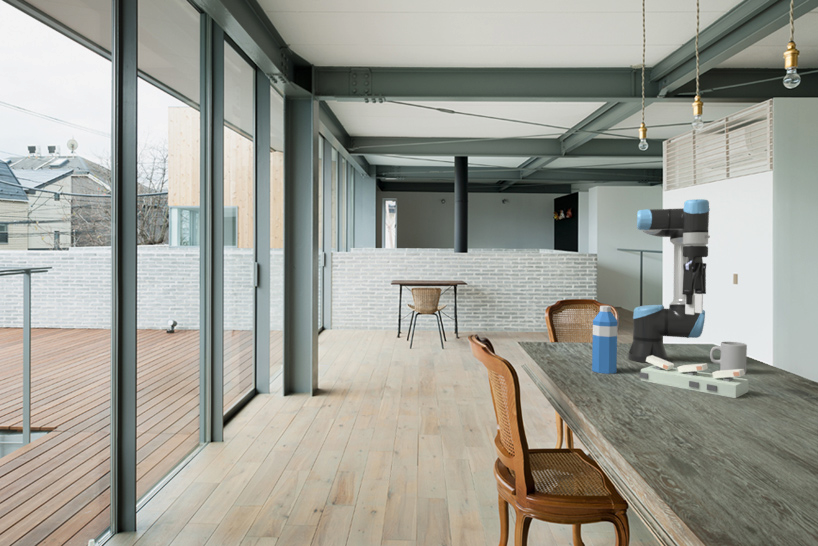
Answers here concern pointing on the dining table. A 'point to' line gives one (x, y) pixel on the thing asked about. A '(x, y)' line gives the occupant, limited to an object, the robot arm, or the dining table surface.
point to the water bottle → (604, 342)
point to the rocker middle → (692, 367)
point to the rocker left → (659, 362)
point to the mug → (731, 355)
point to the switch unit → (696, 381)
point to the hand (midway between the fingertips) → (693, 313)
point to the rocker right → (728, 373)
